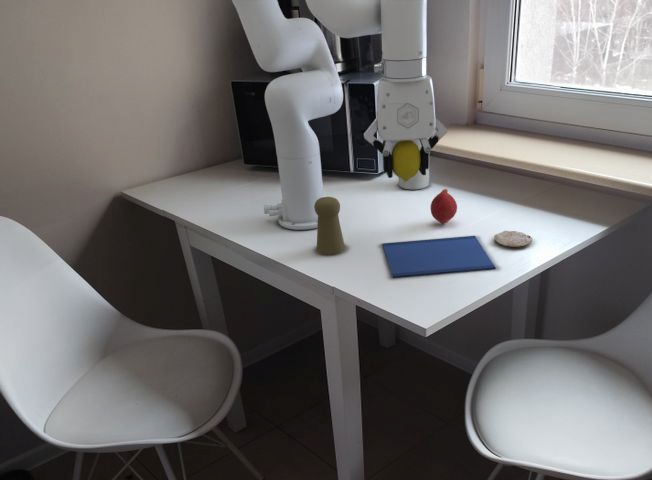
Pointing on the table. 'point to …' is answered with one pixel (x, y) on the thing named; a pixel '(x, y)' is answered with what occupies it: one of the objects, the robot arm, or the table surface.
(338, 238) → the olive pawn
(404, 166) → the lemon
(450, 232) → the table surface
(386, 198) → the table surface
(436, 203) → the onion
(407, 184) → the travel mug
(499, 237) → the flatbread
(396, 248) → the blue rectangular board
